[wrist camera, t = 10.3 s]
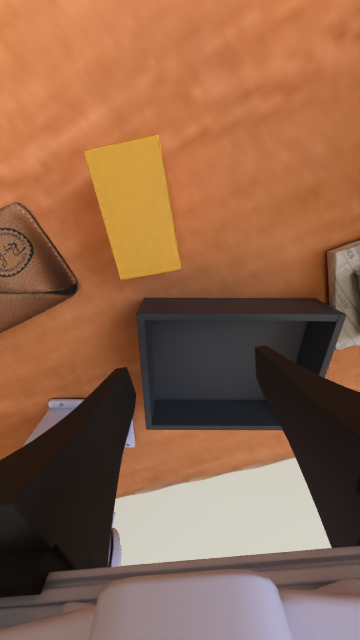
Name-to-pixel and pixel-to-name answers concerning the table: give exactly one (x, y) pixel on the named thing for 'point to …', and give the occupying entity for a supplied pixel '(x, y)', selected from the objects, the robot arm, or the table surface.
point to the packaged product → (346, 290)
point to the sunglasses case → (29, 269)
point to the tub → (225, 356)
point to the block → (135, 206)
